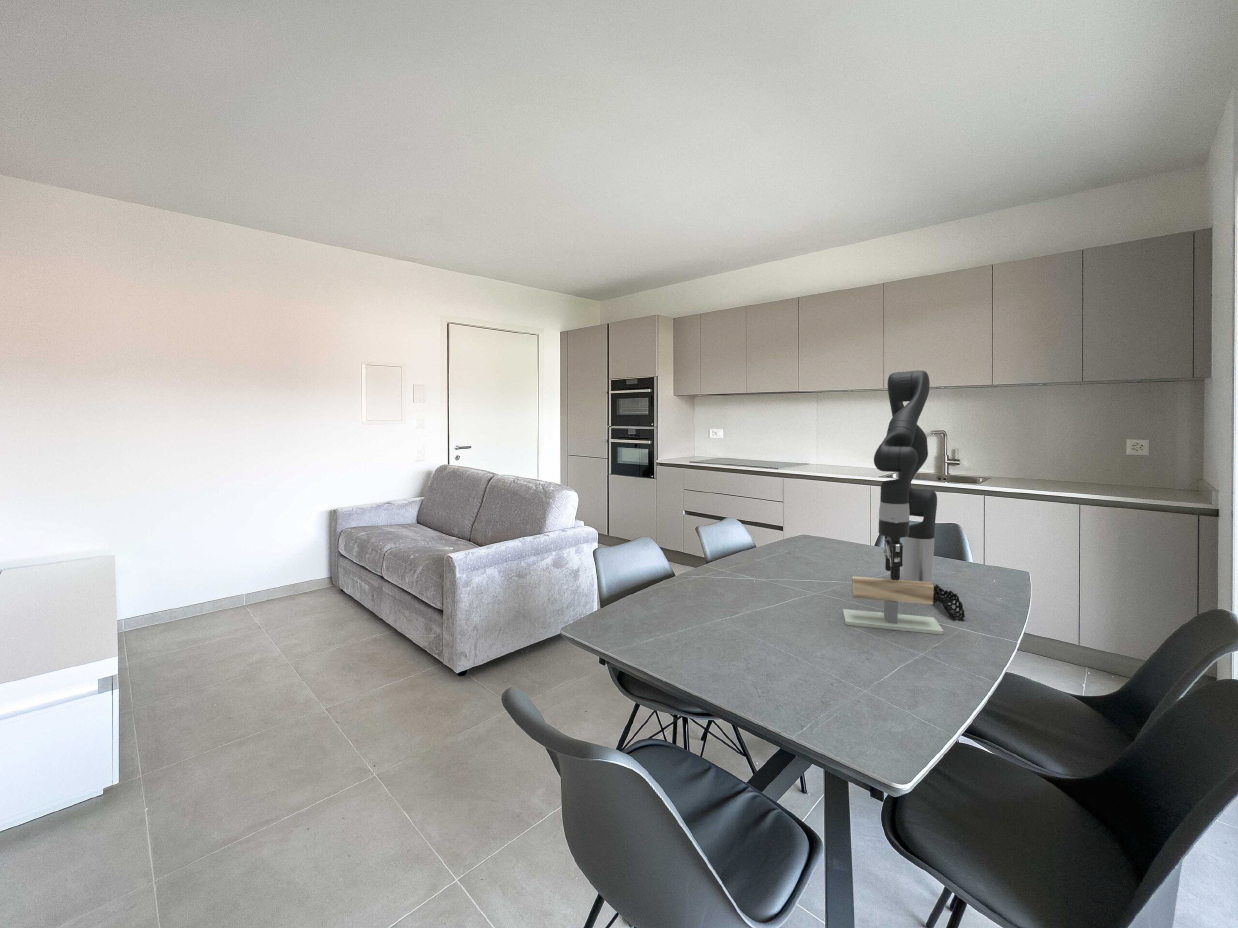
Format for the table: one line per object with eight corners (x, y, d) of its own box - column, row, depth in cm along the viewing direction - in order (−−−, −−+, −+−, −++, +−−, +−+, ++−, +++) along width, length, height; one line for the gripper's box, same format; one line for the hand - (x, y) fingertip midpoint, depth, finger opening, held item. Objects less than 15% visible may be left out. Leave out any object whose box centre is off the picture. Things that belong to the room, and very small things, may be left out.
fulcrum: (842, 612, 159) (843, 589, 159) (934, 620, 152) (935, 596, 151) (845, 624, 150) (846, 600, 149) (943, 634, 142) (944, 609, 142)
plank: (851, 593, 155) (852, 576, 155) (929, 599, 149) (930, 582, 149) (853, 597, 151) (853, 580, 151) (932, 604, 145) (933, 586, 145)
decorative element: (968, 622, 151) (969, 602, 150) (948, 621, 152) (950, 601, 151) (937, 596, 173) (938, 578, 172) (920, 595, 174) (921, 577, 173)
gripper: (875, 512, 156) (873, 567, 158) (883, 522, 142) (881, 582, 144) (903, 513, 154) (902, 568, 155) (914, 524, 140) (912, 584, 142)
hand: (892, 575), depth 150 cm, fingers open, 8 cm apart
